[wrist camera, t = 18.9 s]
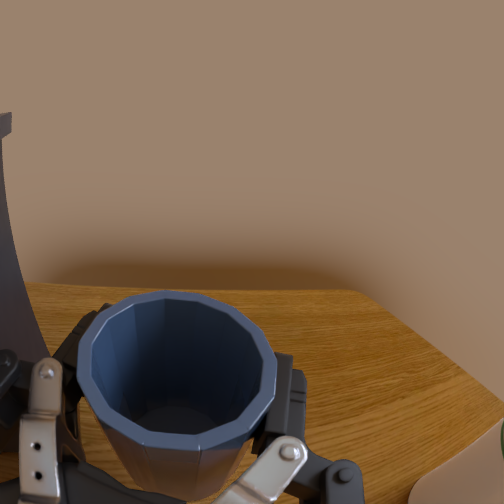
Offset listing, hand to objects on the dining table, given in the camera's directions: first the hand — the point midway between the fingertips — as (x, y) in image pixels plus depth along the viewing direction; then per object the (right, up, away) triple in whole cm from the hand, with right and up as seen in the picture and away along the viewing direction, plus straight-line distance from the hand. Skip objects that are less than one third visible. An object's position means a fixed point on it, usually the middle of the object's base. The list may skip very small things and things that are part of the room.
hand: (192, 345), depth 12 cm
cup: (-2, -7, +1) cm, 7 cm away
